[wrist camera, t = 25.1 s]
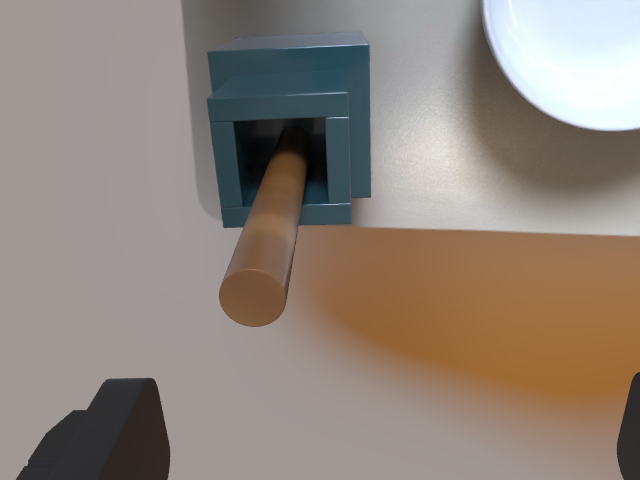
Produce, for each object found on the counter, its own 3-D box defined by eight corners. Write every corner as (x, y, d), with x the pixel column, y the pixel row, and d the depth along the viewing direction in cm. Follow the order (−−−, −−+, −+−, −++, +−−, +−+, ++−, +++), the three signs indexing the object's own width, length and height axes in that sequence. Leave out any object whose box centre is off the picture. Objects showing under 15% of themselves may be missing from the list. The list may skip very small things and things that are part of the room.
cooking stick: (285, 120, 36) (232, 259, 17) (316, 134, 36) (296, 284, 18) (272, 151, 36) (209, 313, 18) (303, 164, 37) (271, 336, 18)
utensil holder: (236, 37, 44) (171, 68, 27) (361, 31, 43) (378, 58, 26) (249, 158, 48) (199, 253, 31) (363, 154, 48) (379, 248, 30)
